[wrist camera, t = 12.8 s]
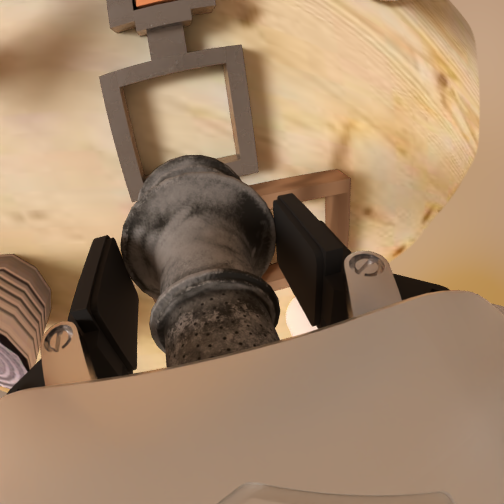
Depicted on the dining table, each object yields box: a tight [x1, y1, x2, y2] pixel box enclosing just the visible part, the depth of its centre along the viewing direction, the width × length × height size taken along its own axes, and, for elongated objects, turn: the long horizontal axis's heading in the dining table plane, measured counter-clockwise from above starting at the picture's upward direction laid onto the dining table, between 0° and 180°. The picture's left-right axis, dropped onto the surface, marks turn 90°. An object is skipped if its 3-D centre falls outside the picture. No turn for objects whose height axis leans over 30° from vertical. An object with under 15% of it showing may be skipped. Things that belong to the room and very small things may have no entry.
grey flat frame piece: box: [99, 0, 259, 202], centre depth 20 cm, size 12×23×3 cm, turn 7°
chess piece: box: [120, 155, 280, 367], centre depth 9 cm, size 6×6×12 cm
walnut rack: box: [153, 169, 351, 303], centre depth 32 cm, size 22×12×3 cm, turn 97°
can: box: [0, 254, 51, 389], centre depth 24 cm, size 11×11×12 cm
